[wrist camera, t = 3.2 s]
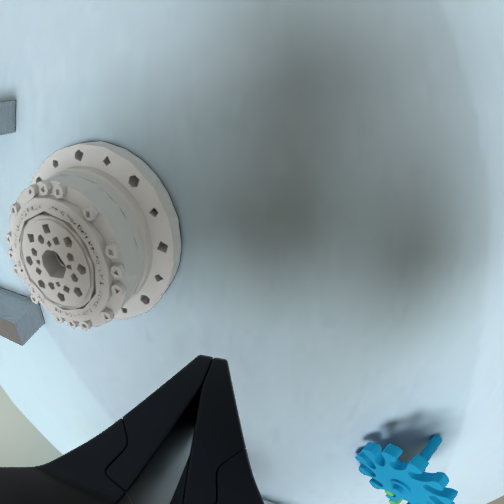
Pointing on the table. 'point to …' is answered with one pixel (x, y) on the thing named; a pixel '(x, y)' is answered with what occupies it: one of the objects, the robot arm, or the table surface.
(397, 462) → the gear
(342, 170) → the table surface
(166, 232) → the mechanical component
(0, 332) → the clevis bracket
